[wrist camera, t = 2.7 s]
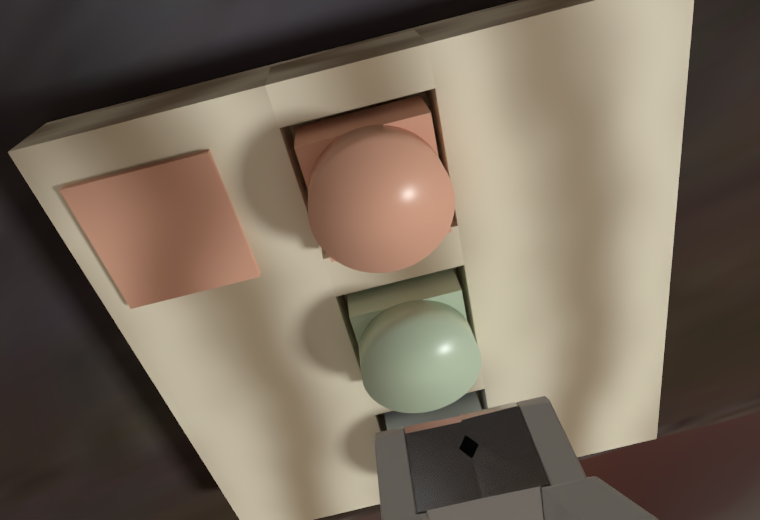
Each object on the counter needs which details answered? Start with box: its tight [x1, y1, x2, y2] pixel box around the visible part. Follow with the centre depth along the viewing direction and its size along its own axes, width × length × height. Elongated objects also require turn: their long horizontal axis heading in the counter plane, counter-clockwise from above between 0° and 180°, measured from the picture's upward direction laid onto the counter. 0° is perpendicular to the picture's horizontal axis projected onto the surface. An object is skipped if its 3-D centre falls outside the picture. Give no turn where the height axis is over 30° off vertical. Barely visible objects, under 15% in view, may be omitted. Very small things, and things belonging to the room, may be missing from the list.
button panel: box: [8, 0, 694, 520], centre depth 24 cm, size 22×22×3 cm
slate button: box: [384, 391, 482, 430], centre depth 26 cm, size 5×5×3 cm
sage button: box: [347, 268, 481, 413], centre depth 22 cm, size 5×5×3 cm
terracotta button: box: [294, 95, 455, 273], centre depth 18 cm, size 5×5×3 cm
